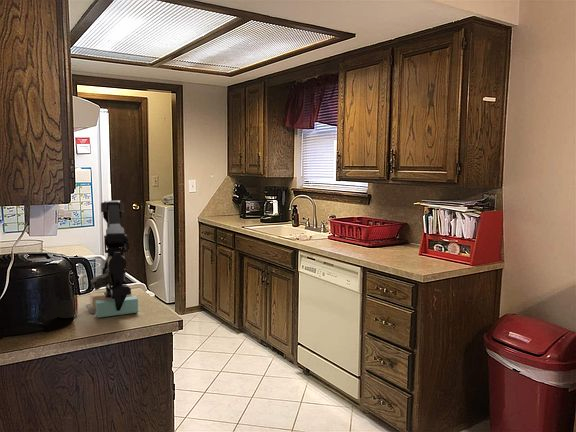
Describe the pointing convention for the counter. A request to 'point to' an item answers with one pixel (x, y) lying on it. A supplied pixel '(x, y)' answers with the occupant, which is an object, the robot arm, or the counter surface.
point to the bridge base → (94, 298)
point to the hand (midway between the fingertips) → (117, 308)
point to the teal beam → (109, 307)
